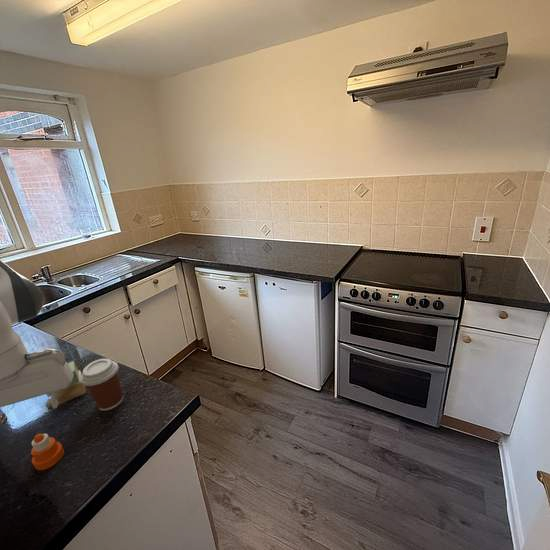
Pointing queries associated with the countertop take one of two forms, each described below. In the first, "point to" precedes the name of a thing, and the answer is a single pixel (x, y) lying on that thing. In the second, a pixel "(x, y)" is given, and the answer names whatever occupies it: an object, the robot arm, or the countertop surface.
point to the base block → (71, 391)
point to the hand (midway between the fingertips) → (28, 415)
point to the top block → (74, 373)
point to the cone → (45, 451)
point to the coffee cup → (103, 383)
